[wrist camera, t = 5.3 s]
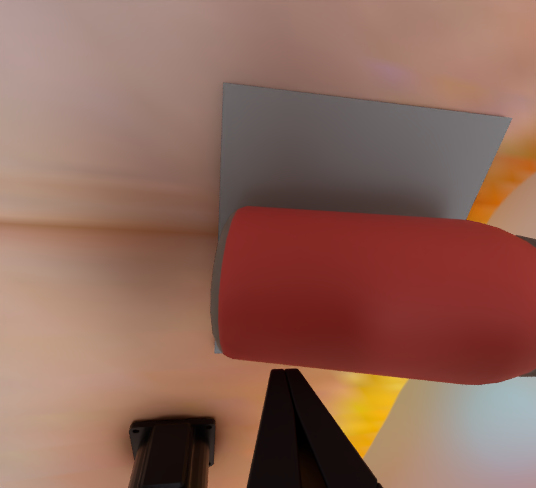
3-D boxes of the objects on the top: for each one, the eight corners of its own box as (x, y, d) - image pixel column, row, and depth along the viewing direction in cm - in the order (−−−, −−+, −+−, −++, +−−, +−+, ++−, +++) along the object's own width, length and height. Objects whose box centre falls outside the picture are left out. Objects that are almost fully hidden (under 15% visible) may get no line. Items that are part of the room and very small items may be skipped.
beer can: (200, 231, 9) (639, 262, 8) (242, 192, 15) (491, 206, 14) (207, 395, 11) (547, 437, 10) (241, 303, 17) (454, 323, 16)
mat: (402, 344, 22) (405, 350, 22) (214, 347, 20) (214, 353, 20) (504, 117, 15) (512, 118, 14) (223, 82, 13) (223, 82, 12)
